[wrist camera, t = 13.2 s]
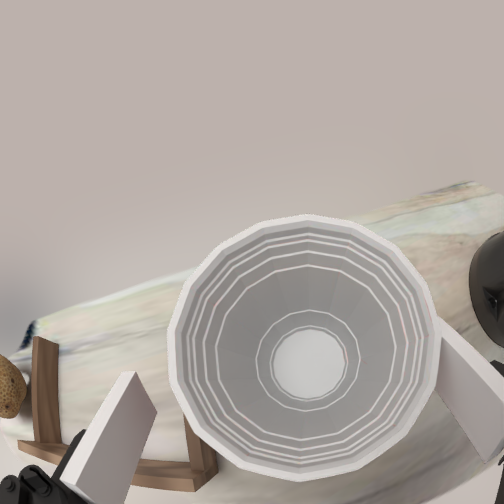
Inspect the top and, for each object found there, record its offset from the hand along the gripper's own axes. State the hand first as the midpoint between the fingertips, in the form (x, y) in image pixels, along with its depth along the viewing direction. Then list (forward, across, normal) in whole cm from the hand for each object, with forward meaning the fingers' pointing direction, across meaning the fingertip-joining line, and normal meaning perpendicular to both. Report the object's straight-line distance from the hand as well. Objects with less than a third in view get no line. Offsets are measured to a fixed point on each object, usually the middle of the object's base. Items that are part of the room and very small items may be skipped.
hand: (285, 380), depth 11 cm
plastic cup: (+8, +2, -6) cm, 10 cm away
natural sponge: (+11, -38, -12) cm, 41 cm away
